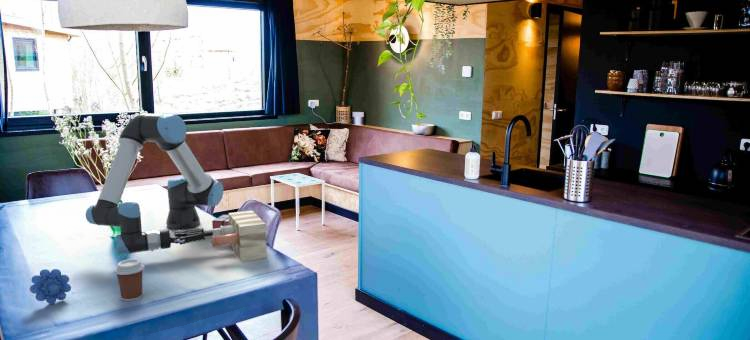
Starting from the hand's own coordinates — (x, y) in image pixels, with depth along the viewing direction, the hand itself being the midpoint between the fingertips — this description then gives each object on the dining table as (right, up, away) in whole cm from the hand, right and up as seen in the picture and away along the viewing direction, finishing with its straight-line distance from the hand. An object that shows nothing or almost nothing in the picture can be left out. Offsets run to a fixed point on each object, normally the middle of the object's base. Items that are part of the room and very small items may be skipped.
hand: (220, 231), depth 227 cm
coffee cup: (-17, -17, -43) cm, 50 cm away
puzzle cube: (0, -6, +15) cm, 16 cm away
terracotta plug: (+7, -4, -9) cm, 12 cm away
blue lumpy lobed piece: (-40, -18, -49) cm, 66 cm away
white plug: (+6, -2, +4) cm, 8 cm away
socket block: (+11, -8, 0) cm, 14 cm away
